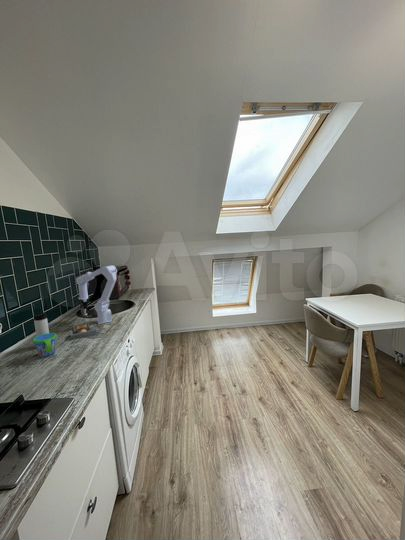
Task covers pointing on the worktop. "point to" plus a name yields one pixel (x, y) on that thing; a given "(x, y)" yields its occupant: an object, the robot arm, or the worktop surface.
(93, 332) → the tray
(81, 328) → the brown square block
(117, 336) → the worktop surface
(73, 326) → the rails
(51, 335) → the snack cup
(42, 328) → the travel mug
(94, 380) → the worktop surface
